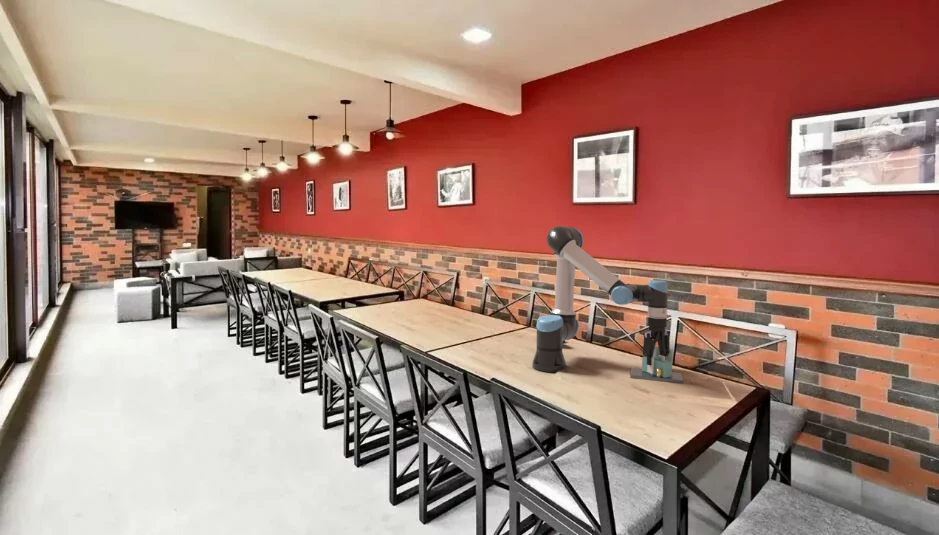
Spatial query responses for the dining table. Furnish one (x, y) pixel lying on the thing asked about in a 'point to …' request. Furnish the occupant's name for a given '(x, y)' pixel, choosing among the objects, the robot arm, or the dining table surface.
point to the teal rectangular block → (659, 366)
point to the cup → (668, 358)
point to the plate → (655, 376)
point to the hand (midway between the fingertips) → (655, 371)
